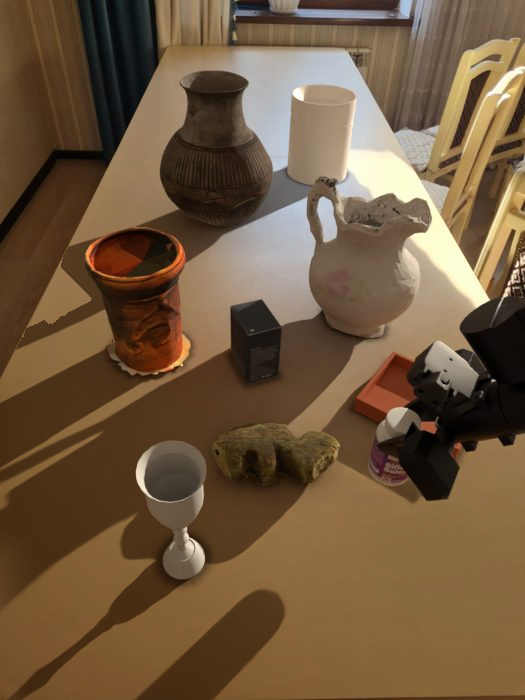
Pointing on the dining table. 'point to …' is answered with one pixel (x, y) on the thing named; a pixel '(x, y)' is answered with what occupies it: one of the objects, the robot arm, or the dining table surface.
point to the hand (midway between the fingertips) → (387, 431)
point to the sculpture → (273, 453)
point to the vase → (215, 153)
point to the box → (255, 341)
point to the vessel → (141, 297)
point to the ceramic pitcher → (364, 258)
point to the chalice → (175, 500)
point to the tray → (391, 393)
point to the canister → (320, 132)
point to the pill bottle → (393, 426)
